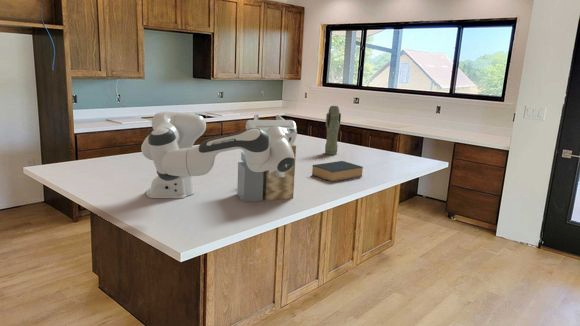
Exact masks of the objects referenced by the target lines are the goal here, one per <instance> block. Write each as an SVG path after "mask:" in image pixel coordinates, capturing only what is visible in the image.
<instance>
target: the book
mask: <svg viewBox="0 0 580 326" xmlns="http://www.w3.org/2000/svg"><path fill="white" fill-rule="evenodd" d="M311 166H312V169H311V175H312V176H315V177H318V178H320V179H322V180H323V179H324V180H327V181H329V182H338V181H345V180H348V179H355V178H360V177H363V169H364V166H361V165H359V164H355V163H351V162H348V161H345V160H339V161H331V162H326V163H325V162H324V163H318V164H312V165H311Z"/></svg>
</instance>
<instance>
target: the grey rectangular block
mask: <svg viewBox="0 0 580 326" xmlns="http://www.w3.org/2000/svg"><path fill="white" fill-rule="evenodd" d="M236 185H237V187H236V188H237V189H236V192H237V196H238V197H239V198H240V199H241V200H242V202H244V203H252V202H263V173H254V172H252V171H251V170H249V168H248V167H247V165H246V164H245V163H244V162H243V161H241V162H237V184H236Z"/></svg>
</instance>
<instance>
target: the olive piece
mask: <svg viewBox="0 0 580 326" xmlns="http://www.w3.org/2000/svg"><path fill="white" fill-rule="evenodd" d="M341 118H342V114H341V112H340V108H339V106H338V105H331V106H329V108H328V112H327V113H326V117H325V127H326V143H325V147H324V154H325V155H328V156H329V155H330V156H336V155H337V154H338V147H339V146H338V138H339V137H338V136H339V131H340V130H339V129H340V126H341Z"/></svg>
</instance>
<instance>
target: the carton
mask: <svg viewBox="0 0 580 326" xmlns="http://www.w3.org/2000/svg"><path fill="white" fill-rule="evenodd" d="M290 145H291V147H292V150H293V153H294V157H295V158H296V155H297V145H295V144H294V143H293V144H290ZM295 171H296V160H295V161H294V165H293V166H292V168H291V169H290V170H288V171H286V172H278V171H275V170H269V171H265V172H263V197H262V199H264V200H265V201H270V200H284V199H285V200H286V199H294V189H295V173H296V172H295Z"/></svg>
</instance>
